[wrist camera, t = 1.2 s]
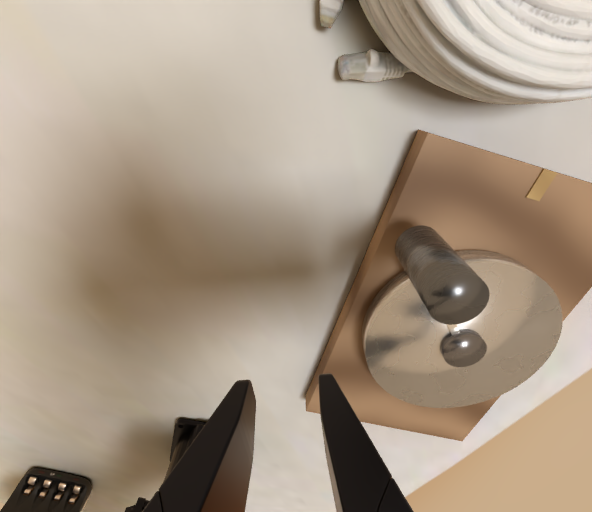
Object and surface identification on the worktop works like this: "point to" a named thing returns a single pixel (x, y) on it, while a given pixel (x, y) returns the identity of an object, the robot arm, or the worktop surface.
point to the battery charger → (49, 492)
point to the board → (460, 236)
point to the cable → (479, 47)
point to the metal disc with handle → (457, 324)
